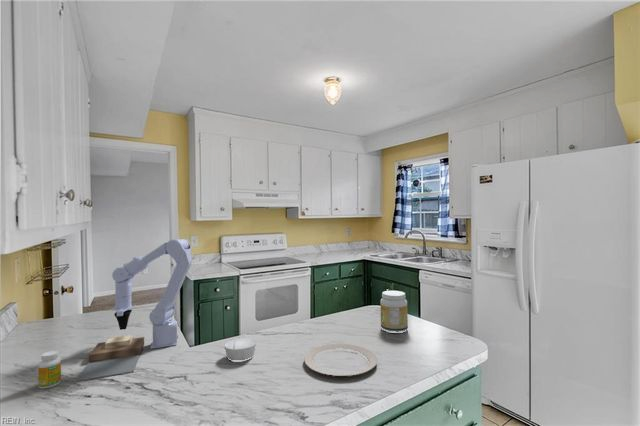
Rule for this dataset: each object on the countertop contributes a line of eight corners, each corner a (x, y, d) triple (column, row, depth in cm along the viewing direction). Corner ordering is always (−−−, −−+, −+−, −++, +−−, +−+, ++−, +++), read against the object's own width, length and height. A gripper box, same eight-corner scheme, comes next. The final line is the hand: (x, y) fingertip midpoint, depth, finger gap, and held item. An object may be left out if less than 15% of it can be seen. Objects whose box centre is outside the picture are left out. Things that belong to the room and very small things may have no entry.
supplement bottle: (47, 390, 95) (47, 357, 96) (33, 388, 96) (33, 356, 97) (65, 381, 101) (65, 350, 101) (51, 379, 102) (51, 349, 102)
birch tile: (132, 340, 127) (132, 335, 127) (129, 345, 121) (129, 340, 122) (109, 343, 124) (109, 338, 124) (105, 348, 118) (105, 343, 118)
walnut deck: (144, 344, 130) (144, 336, 130) (139, 355, 119) (139, 347, 119) (98, 350, 124) (98, 343, 124) (89, 363, 113) (89, 354, 113)
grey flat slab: (139, 355, 119) (139, 354, 119) (133, 372, 106) (133, 371, 106) (88, 363, 113) (88, 362, 113) (75, 381, 100) (75, 380, 100)
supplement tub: (380, 325, 151) (379, 289, 151) (406, 326, 149) (405, 290, 149) (381, 334, 138) (380, 295, 139) (409, 335, 137) (409, 296, 137)
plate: (338, 343, 129) (337, 338, 129) (391, 363, 111) (391, 357, 111) (289, 363, 111) (289, 358, 111) (344, 391, 93) (343, 384, 93)
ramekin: (218, 358, 116) (218, 343, 117) (244, 348, 125) (244, 335, 125) (235, 367, 109) (235, 352, 109) (261, 357, 117) (261, 342, 117)
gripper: (116, 293, 136) (115, 324, 135) (107, 301, 122) (107, 336, 122) (134, 291, 138) (134, 322, 138) (128, 299, 125) (128, 333, 125)
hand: (123, 328), depth 130 cm, fingers closed
